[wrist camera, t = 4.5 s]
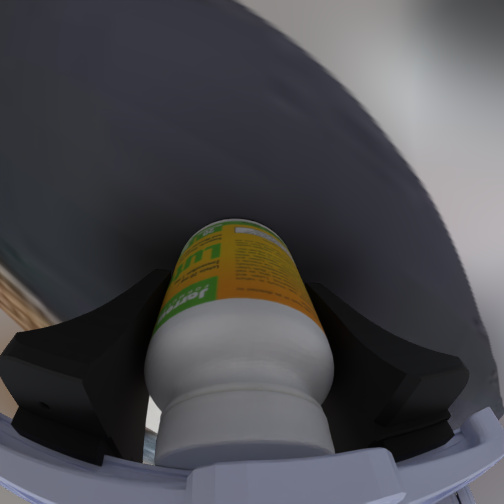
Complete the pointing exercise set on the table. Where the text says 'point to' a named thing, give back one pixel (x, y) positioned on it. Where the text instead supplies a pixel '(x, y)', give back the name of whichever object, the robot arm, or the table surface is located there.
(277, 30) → the table surface
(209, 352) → the supplement bottle
